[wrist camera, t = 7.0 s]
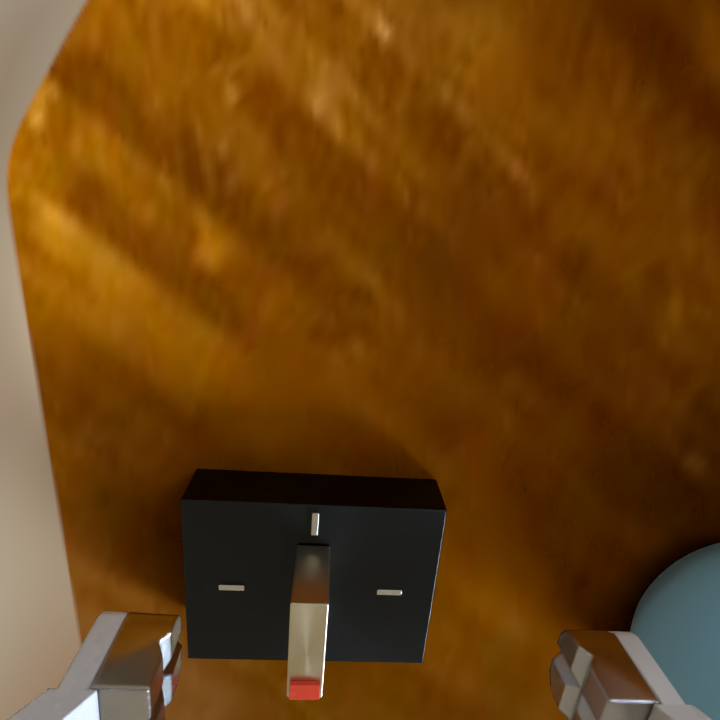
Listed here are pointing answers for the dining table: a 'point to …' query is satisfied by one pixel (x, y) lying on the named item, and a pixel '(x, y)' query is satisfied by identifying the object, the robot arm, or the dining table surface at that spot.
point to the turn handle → (308, 623)
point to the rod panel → (278, 552)
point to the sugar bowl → (686, 627)
